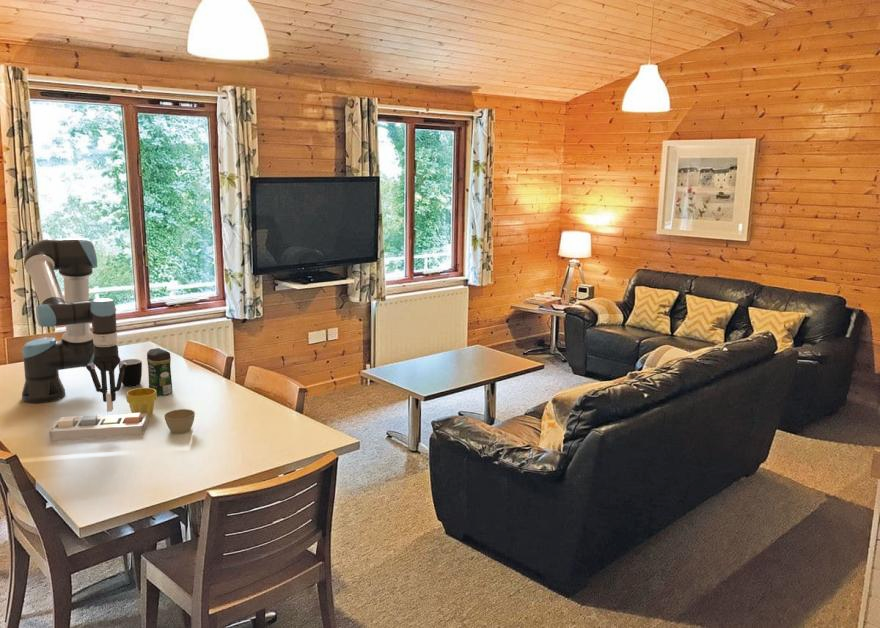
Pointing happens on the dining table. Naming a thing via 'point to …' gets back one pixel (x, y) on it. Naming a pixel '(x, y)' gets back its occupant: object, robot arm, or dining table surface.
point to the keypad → (99, 428)
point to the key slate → (89, 420)
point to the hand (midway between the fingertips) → (110, 410)
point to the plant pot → (142, 400)
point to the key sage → (111, 421)
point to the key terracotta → (132, 418)
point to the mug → (132, 372)
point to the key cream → (66, 422)
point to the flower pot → (179, 420)
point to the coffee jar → (159, 371)
